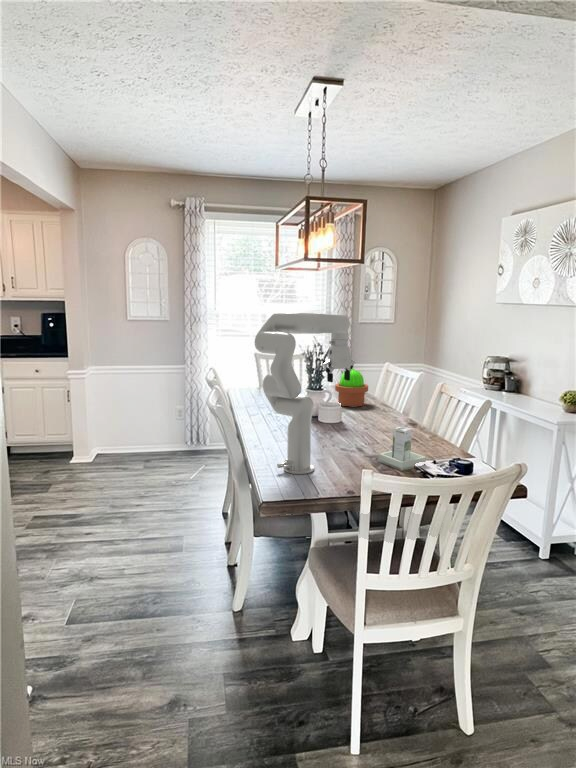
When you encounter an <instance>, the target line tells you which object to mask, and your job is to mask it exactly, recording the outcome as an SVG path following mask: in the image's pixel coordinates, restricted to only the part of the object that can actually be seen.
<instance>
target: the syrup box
mask: <svg viewBox="0 0 576 768" xmlns="http://www.w3.org/2000/svg"><path fill="white" fill-rule="evenodd" d="M412 432H413V429H412V428H410V427H406V426H399V427H395V428H394V429H393V435H392V450H391V451H392V458H394V459H397V460H399V461H402V462H403V461H407V460H410V452H412V451H411V447H412V446H411V445H412V435H413V433H412Z"/></svg>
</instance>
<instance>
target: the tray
mask: <svg viewBox="0 0 576 768" xmlns="http://www.w3.org/2000/svg"><path fill="white" fill-rule="evenodd" d="M426 461H427V457H426V456H424V455H421V454H419V453H416V452H413V451H410V460H407V461H403V462H402V461H399V460H397V459H394V458H392V450H389V451H384V452H381V453H378V462H379V463H381V464H383V465H386V466H388V467H391V468H394V469H396V470H399V471H401V472H403V471H407V470H411V468H412V469H414V468H413V467H414V465H415V464H416V463H419V462H426ZM426 463H427V462H426Z"/></svg>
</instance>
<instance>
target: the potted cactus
mask: <svg viewBox="0 0 576 768" xmlns="http://www.w3.org/2000/svg"><path fill="white" fill-rule="evenodd" d="M364 382H366V381H364V375H362V373H361V372H360V371H358V370H357V369H355V368H352V369H351V372H350V380H349V381H348V380H344V372H343V373H342V374H341V375H340V379H339V383H338V382H337V383H336V384H335V385H334V390H335V392H338V395H337V397H338V400H337V401H338V402H339V403H341V405H343V406H342V407H344V406H361V407H363V406H365V394H366V393H367V392H368V391H369V385H368V383H367V384H366V383H364ZM362 405H363V406H362Z"/></svg>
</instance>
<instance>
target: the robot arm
mask: <svg viewBox="0 0 576 768" xmlns="http://www.w3.org/2000/svg"><path fill="white" fill-rule="evenodd" d="M350 326H351V325H350V319H349V316H348V315H346V314H329V313H328V314H327V313H322V312H321V313H319V312H307V311H281V310H280V311H276V312H273V314H272V315H271V316H270V317H269V318H268V319H267V320H266V322H265V323H264V324H263V325H262V327H260V329H259V331H258V332H257V334H256V335H255V338H254V346H255V349H256V350H257V351H258V352H259V353H261V354H271V355H274V358H273V361H272V362H271V365H270V369H269V370H270V373H268V374H267V375H265V376H264V378H263V381H262V390H263V391H262V392H263V393H264V395H265V397H266V399H267V400H268V402H269V404H270V406H271V407H272V410H273V411H274V412H275V413H276V414H279V415H283V416H288V417H291V420H290V421H289V424H288V426H287V431H286V432H287V453H286V454H287V458H285V459H284V461H283V462H278V463H277V464H276V467H277V469H282V468H283V471H284V472H286V473H288V474H293V475H307V474H310V473H312V472H314V471H315V466H314V465H313V464H312V463H311V452H312V451H311V450H312V449H311V448H312V447H311V444H312V443H311V439H312V438H311V437H312V435H311V434H312V432H311V431H312V429H311V428H312V418H313V412H314V400H313V399H312V398H311V397H310V396H308V395H307V394H303V393H302V384H301V382H300V380H299V378H298V376H297V374H296V372H295V369H294V367H293V364H292V363H293V362H292V361H293V357H294V353H295V350H296V345H297V344H296V338H295V336H294V334H295V335H297V334H298V335H300V334H304V335H305V334H307V335H309V334H311V335H312V334H315V335H317V334H318V335H320V334H331V335H330V341H329V342H328V344H329V345H330V346H329V349H328V355H327V356H328V357H327V360H326V361H325V362H324V363H322V367H323V369H324V371H325V372H326V379H327V382H328V383H333V382H334V373H333V372H334V370H341V369H343V370H344V372H343V373H344V380H348V381H349V380H350V372H351V369H354V366H355V363H356V362H355V361H354V359H353V360H352V356H351V354H352V353H351V348H350V345H349V328H350Z"/></svg>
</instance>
